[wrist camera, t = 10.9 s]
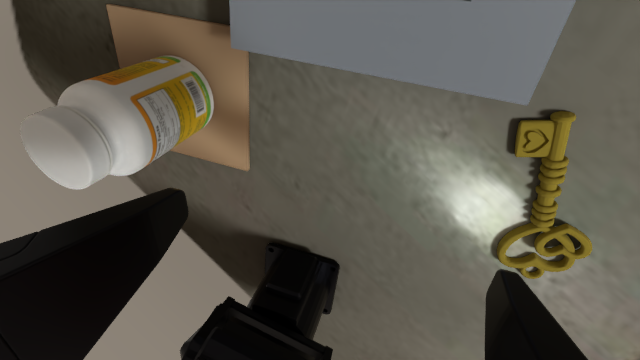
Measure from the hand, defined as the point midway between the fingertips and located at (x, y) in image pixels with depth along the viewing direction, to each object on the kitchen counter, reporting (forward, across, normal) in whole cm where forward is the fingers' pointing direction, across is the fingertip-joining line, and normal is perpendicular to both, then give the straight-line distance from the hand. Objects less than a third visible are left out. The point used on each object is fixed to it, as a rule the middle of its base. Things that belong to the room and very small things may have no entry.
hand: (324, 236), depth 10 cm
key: (+14, -11, +5) cm, 18 cm away
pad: (+13, +14, +2) cm, 19 cm away
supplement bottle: (+13, +14, +2) cm, 19 cm away
